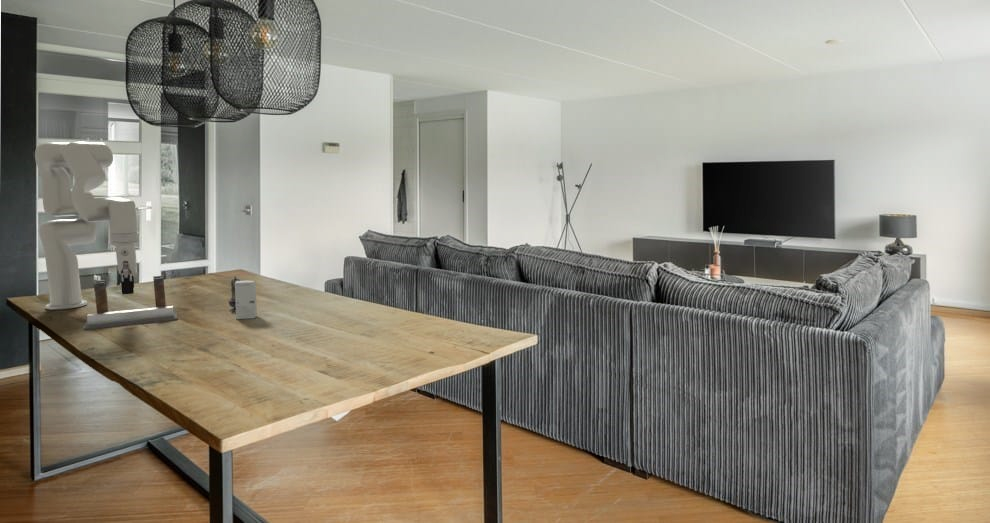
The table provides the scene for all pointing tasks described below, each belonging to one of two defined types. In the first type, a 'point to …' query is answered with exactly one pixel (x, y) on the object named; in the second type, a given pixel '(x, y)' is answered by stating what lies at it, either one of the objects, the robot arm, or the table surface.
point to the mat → (130, 322)
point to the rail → (130, 315)
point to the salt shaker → (233, 295)
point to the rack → (159, 299)
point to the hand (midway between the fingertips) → (128, 291)
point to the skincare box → (245, 299)
